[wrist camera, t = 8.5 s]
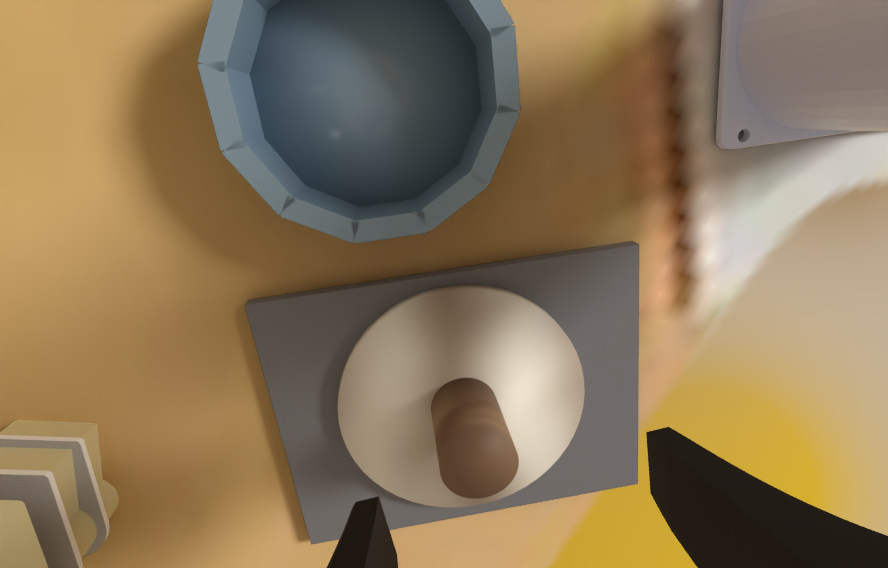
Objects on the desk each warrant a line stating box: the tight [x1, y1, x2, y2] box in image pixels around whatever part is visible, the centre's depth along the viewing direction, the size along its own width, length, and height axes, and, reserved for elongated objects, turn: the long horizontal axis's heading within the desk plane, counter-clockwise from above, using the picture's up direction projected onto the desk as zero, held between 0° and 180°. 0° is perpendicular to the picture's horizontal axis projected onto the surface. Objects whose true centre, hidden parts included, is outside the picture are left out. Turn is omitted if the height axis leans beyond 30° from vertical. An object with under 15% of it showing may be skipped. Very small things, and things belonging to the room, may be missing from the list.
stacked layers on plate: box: [0, 420, 119, 568], centre depth 20 cm, size 10×9×6 cm
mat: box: [245, 241, 639, 544], centre depth 23 cm, size 17×13×1 cm
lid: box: [338, 284, 585, 508], centre depth 21 cm, size 11×11×5 cm
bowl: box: [197, 0, 521, 244], centre depth 17 cm, size 10×10×3 cm
